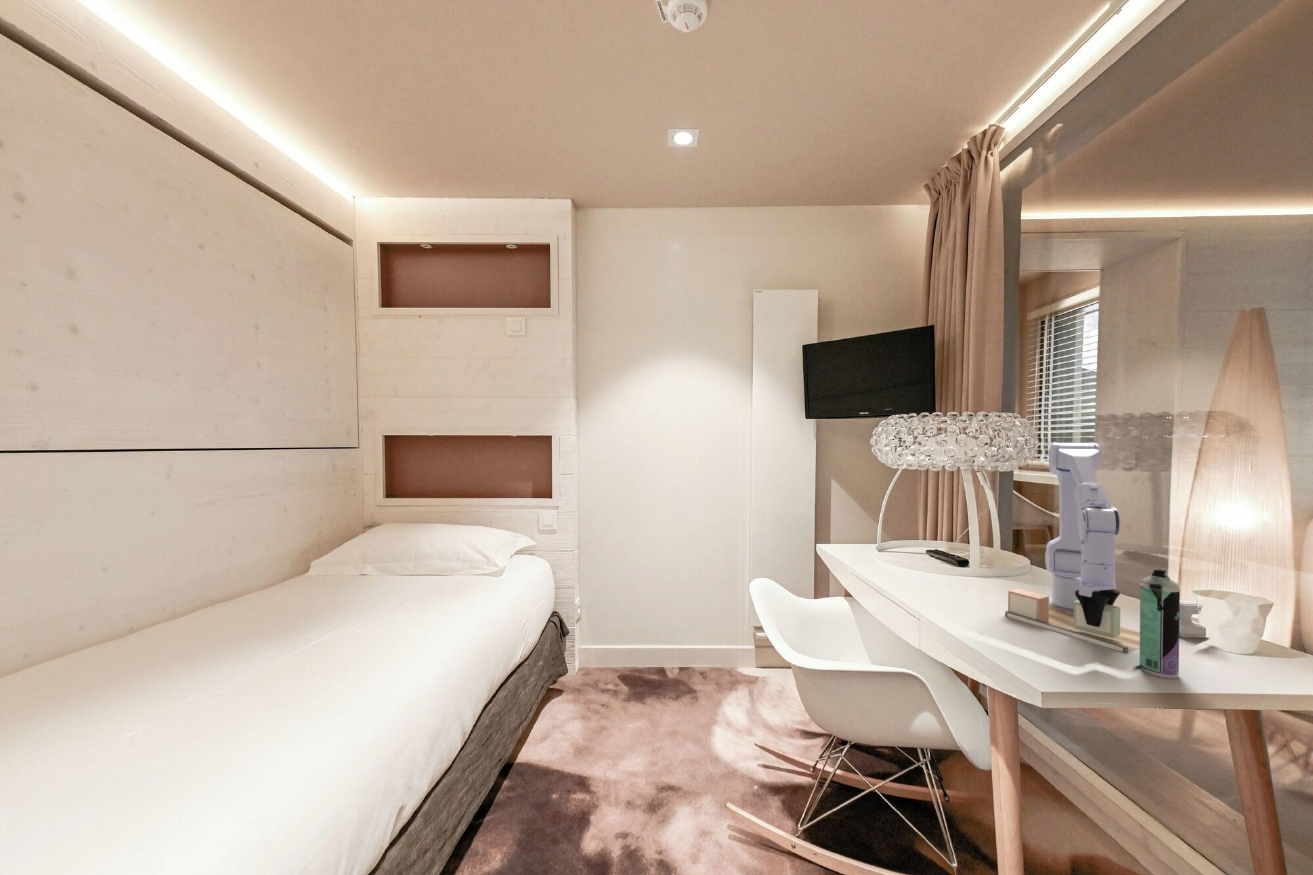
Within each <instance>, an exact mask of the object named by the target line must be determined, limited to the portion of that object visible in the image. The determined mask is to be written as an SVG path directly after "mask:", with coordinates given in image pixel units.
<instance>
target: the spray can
mask: <svg viewBox="0 0 1313 875" xmlns="http://www.w3.org/2000/svg"><path fill="white" fill-rule="evenodd" d="M1140 581H1141V582H1140V591H1139V592H1140V593H1139V594H1140V596H1139V597H1140V598H1139V632H1140V648H1139V669H1140V670H1141V672H1143V673H1144V674H1145V673H1146V674H1148V675H1149V676H1153V677H1158V678H1161V679H1166V680H1167V679H1169V680H1177V679H1178V678H1179V677H1180V676H1179V674H1180V672H1179V671H1180V636H1179V611H1180V600H1181V597H1180V596H1181V595H1180V593H1181V589H1180V583H1177V582H1176V581H1174V580H1172V579H1171V576H1168V574H1167V570H1166V569H1163V568H1157V569H1153V572H1152V573H1150V574H1149V576H1147V577H1145V578H1140Z"/></svg>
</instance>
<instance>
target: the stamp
mask: <svg viewBox="0 0 1313 875" xmlns="http://www.w3.org/2000/svg"><path fill="white" fill-rule="evenodd" d="M1201 606H1202V608H1203V606H1204V605H1202V604H1199V608H1198V603H1195V602H1192V601H1188V600H1185V599H1180V611H1179V638H1182V639H1183V638H1185V639H1196V638H1197V639H1206V638H1205V636H1206V628H1205V627H1204V626H1201V624H1202V623H1201V622H1197V621H1194V620H1192V616H1193V615H1199V614H1200V612H1202V611H1201ZM1198 609H1199V610H1198ZM1198 611H1199V612H1198ZM1203 627H1204V628H1203Z"/></svg>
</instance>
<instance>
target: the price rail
mask: <svg viewBox="0 0 1313 875" xmlns="http://www.w3.org/2000/svg"><path fill="white" fill-rule="evenodd" d="M1004 612H1005V613H1004V614H1005V615H1004V616H1005V617H1009V618H1011V619H1015V620H1018V621H1021V622H1025V623H1028V624H1031V625H1033V626H1038V627H1041V628H1044V629H1048V630H1051V631H1054V632H1057V633H1061V634H1062V635H1067V636H1069V637H1074V638H1076V639H1080V640H1083V641H1086V642H1089V643H1092V644H1096V645H1098V646H1099V645H1100V646H1102V647H1106V648H1109V649H1113V650H1116V651H1119V652H1122V653H1125V652H1127V653H1129V652H1128V647H1127V646H1124V645H1120V644H1117V643H1114V642H1110V641H1107V640H1104V639H1100V638H1097V637H1094V636H1090V635H1087V634H1083V633H1080V632H1077V631H1073V630H1070V629H1067V628H1063V627H1060V626H1057V625H1053V624H1050V623H1047V622H1043V621H1040V620H1037V619H1033V618H1030V617H1027V616H1023V615H1020V614H1017V613H1013V612H1010V611H1008V610H1006V611H1004Z"/></svg>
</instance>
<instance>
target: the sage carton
mask: <svg viewBox="0 0 1313 875" xmlns="http://www.w3.org/2000/svg"><path fill="white" fill-rule="evenodd" d="M1073 614H1074V628H1075V629H1078V630H1082V631H1086V632H1090V633H1094V634H1098V635H1102V636H1106V637H1110V638H1115V637H1117V636H1119V635H1120V627H1121V607H1120V606H1117V605H1114V604H1113V605H1108V604H1106V605H1105V607H1104V610H1103V614H1102V620H1101V624H1100V626H1099V627H1095V626H1092V625H1088V624H1087V623H1086V620H1085V616H1084V612H1083V609H1082V606H1081V604H1080V602H1079V600H1077V601H1074V609H1073Z"/></svg>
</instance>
